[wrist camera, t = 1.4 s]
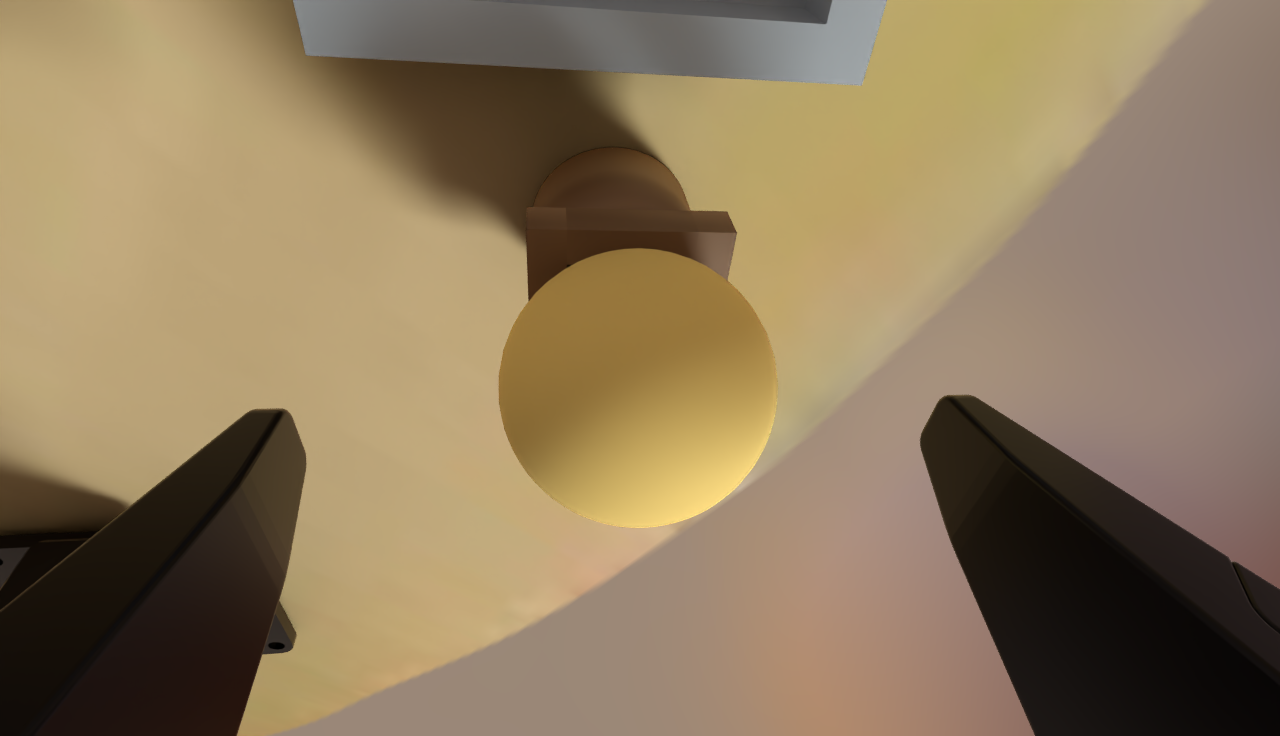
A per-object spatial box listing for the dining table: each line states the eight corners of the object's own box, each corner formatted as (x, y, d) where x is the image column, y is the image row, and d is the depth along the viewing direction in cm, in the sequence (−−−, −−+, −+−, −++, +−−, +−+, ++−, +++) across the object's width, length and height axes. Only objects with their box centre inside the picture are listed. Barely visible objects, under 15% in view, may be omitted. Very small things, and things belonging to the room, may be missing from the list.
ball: (720, 392, 12) (776, 575, 9) (510, 396, 12) (499, 592, 9) (762, 201, 10) (858, 372, 7) (497, 194, 9) (476, 378, 6)
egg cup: (678, 289, 14) (706, 386, 12) (533, 289, 14) (531, 389, 11) (698, 150, 12) (736, 233, 10) (528, 144, 12) (526, 229, 9)
